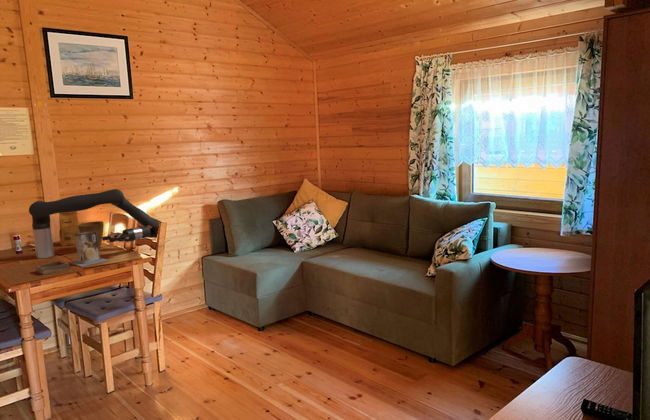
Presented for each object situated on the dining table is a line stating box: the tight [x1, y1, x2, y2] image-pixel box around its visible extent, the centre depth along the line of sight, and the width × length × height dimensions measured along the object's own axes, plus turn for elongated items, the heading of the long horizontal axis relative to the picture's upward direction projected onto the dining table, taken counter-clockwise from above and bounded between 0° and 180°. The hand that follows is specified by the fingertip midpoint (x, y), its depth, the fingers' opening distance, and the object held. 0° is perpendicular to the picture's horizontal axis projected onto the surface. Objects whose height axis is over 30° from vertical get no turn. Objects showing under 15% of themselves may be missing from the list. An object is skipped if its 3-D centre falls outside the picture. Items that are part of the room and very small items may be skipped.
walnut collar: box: [35, 260, 71, 275], centre depth 262 cm, size 10×13×3 cm
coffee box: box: [75, 231, 100, 263], centre depth 275 cm, size 9×6×16 cm
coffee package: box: [58, 211, 80, 247], centre depth 323 cm, size 10×12×22 cm
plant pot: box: [77, 220, 105, 249], centre depth 309 cm, size 15×15×16 cm
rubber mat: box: [68, 256, 109, 268], centre depth 276 cm, size 15×15×1 cm
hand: (106, 239), depth 282 cm, fingers open, 8 cm apart
